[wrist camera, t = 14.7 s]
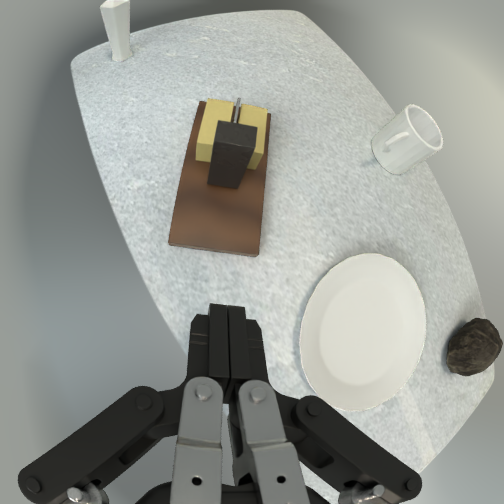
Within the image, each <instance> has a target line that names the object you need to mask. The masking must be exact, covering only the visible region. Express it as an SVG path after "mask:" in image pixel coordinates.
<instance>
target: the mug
mask: <svg viewBox="0 0 504 504" xmlns="http://www.w3.org/2000/svg"><path fill="white" fill-rule="evenodd" d="M371 144H372V150H373V153H374V156H375V157H376V159H377V161H378V162H379V163H380V164H381V166H382V167H383V168H384V169H386V170H387V171H388V172H390V173H393V174H395V175H401V174H403V173H405V172H407V171H408V170H410V169H411V168H413V167H415V166H416V165H418V164H419V163H421V162H422V161H424V160H425V159H427V158H428V157H430V156H431V155H433V154H435V153H436V152H438V151H439V150H441V149H442V147H443V137H442V134H441V131H440V130H439V127H438V125H437V124H436V122H435V121H434V120H433V118H432V117H431V116H430V115H429V114H428V113H427V112H426V111H425V110H424V109H422V108H420V107H418V106H416V105H413V104H411V105H407V106H406V107H405V108H404V109H403V110H402V111H401V112H400V113H399V114H397V115H396V116H395V117H394V118H393V119H392V120H391V121H390V122H389V123H388V124H387V125H385V126H384V127H383V128H382V129H381V130H380V131H379V132H378V133H377V134H376V135H375V136H374V137H373V139H372V143H371Z"/></svg>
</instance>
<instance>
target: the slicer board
mask: <svg viewBox="0 0 504 504" xmlns="http://www.w3.org/2000/svg"><path fill="white" fill-rule="evenodd" d="M206 104H207V102H204V101H200V102H199V105H198V109H197V112H196V116H195V120H194V123H193V127H192V131H191V135H190V139H189V143H188V147H187V151H186V155H185V159H184V164H183V168H182V172H181V177H180V182H179V186H178V191H177V196H176V201H175V206H174V212H173V217H172V222H171V228H170V234H169V240H168V243H169V245H171V246H179V247H186V248H193V249H200V250H208V251H215V252H222V253H230V254H237V255H244V256H252V257H256V256H258V255H259V245H260V235H261V224H262V212H263V201H264V190H265V179H266V167H267V155H268V144H269V132H270V120H271V114H270V113H267V121H266V132H265V142H264V153H263V155H262V157H261V159H260V161H259V163H258V165H257V167H256V169H255V170H254V169H248V168H247V169H246V171H245V173H244V176H243V178H242V181H241V183H240V185H239V188H238V189H236V188H230V187H223V186H217V185H210V184H207V180H208V173H209V166H210V162H206V161H199V160H196V147H197V139H198V135H199V131H200V127H201V123H202V119H203V115H204V111H205V107H206ZM235 107H236V106H233V112H232V117H231V122H232V119H233V115H234V111H235ZM240 108H241V107H239V110H238V115H239V111H240ZM237 118H238V116H237Z"/></svg>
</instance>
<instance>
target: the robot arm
mask: <svg viewBox="0 0 504 504" xmlns="http://www.w3.org/2000/svg"><path fill="white" fill-rule="evenodd" d="M262 340H263V339H262V332H261V328H260V327H259V325H258V323H257V322H256V320H252V319H246V314H245V307H240V306H231V305H221V304H212V303H210V305H209V311H208V315H201V314H196V316H195V317H194V319H193V320H192V322H191V329H190V340H189V352H188V365H187V376H186V379H185V381H184V382H183V383H182V384H181V385H180V386H179V387H177V388H174V389H171V390H165V391H159V392H157V391H156V390H154V389H153V388H151V387H147V386H138V387H135V388H133V389H131V390H130V391H128V392H127V393H126V394H125V395H123V396H122V397H121V398H119V399H118V400H117V401H116V402H114V403H113V404H112V405H110V406H109V407H108V408H106V409H105V410H104V411H102V412H101V413H100V414H98V415H97V416H96V417H95V418H93V419H92V420H91V421H89V422H88V423H87V424H85V425H84V426H83V427H81V428H80V429H78V430H77V431H76V432H74V433H73V434H72V435H70V436H69V437H68V438H66V439H65V440H63V441H62V442H61V443H59V444H58V445H57V446H55V447H53V448H52V449H51V450H49V451H48V452H47V453H45V454H44V455H42V456H41V457H39V458H38V459H36V460H35V461H34V462H32V463H31V464H29V465H28V466H26V467H25V468H23V469H22V470H21V471H20V473H19V475H18V484H19V487H20V490H21V492H22V493H23V494H24V496H25V497H26V498H27V499H28V500H30V501H31V502H33V503H35V504H109V498H108V496H107V494H106V493H105V491H104V490H103V488H105V487H106V486H107V485H108V484H110V483H111V482H112V481H113V480H115V479H116V478H117V477H118V476H120V475H121V474H122V473H123V472H124V471H126V470H127V469H128V468H129V467H130V466H131V465H133V464H134V463H135V462H136V461H138V459H140V458H141V457H142V456H143V455H144V454H145V453H147V452H148V451H149V450H150V449H151V448H152V447H153V446H155V445H156V444H157V443H158V442H159V441H160V440H161V439H162V438H164V437H169V436H174V435H178V437H177V442H176V448H175V456H174V465H173V475H172V481H171V482H167V483H163V484H160V485H158V486H156V487H154V488H152V489H151V490H149V491H148V492H147V493H146V494H145V495H144V496H143V497H142V498H141V499H139V500H138V501H137V502H136V503H135V504H330V503H329V502H328V501H327V500H325V499H324V498H323V497H322V496H320V495H319V494H318V493H317V492H316V491H314V490H313V489H311V488H310V487H308V486H306V485H305V482H304V478H303V475H302V471H301V467H300V463H299V461H301V462H302V463H303V464H304V465H305V466H306V467H308V468H309V469H310V470H311V471H313V472H314V473H315V474H316V475H317V476H319V477H320V478H321V479H323V480H324V481H325V482H326V483H328V484H329V485H330V486H332V487H333V488H334V489H336V490H337V491H338V492H340V495H339V499H338V503H339V504H399V503H401V502H405V501H408V500H411V499H413V498H415V497H416V496H417V495H418V494H419V493H420V491H421V488H422V480H421V477H420V475H419V474H418V473H417V472H415V471H414V470H412V469H411V468H410V467H408V466H407V465H405V464H404V463H403V462H401V461H400V460H398V459H397V458H396V457H394V456H393V455H392V454H390V453H389V452H388V451H386V450H385V449H384V448H382V447H381V446H380V445H378V444H377V443H376V442H374V441H373V440H372V439H371V438H369V437H368V436H367V435H365V434H364V433H363V432H362V431H360V430H359V429H358V428H357V427H355V426H354V425H353V424H352V423H350V422H349V421H348V420H347V419H346V418H344V417H343V416H342V415H341V414H339V413H338V412H337V411H336V410H335V409H334V408H332V407H331V406H330V405H329V404H328V403H326V402H325V401H324V400H323V399H321V398H320V397H317V396H312V395H310V396H305V397H303V398H301V399H300V400H299V399H296V398H292V397H288V396H285V395H282V394H280V393H278V392H277V391H276V390H274V389H273V387H272V386H271V385H270V383H269V380H268V374H267V367H266V360H265V353H264V346H263V341H262ZM223 404H229V415H228V419H227V420H228V428H229V435H230V442H231V448H232V455H233V465H232V468H233V477H234V483H235V486H230V485H225V484H221V482H222V446H221V427H222V407H223Z"/></svg>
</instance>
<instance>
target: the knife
mask: <svg viewBox="0 0 504 504" xmlns="http://www.w3.org/2000/svg"><path fill="white" fill-rule="evenodd" d="M240 99H241V98H238V100H237V104H236V107H235V111H234V115H233V119H232V122H228V121H221V120H218V122H217V127H216V132H215V137H214V142H213V148H212V154H211V160H210V166H209V173H208V180H207V184H210V185H217V186H223V187H230V188H236V189H238V188H239V185H240V183H241V181H242V178H243V176H244V173H245V171H246V169H247V166H248V164H249V162H250V159H251V157H252V155H253V152H254V150H255V147H256V138H257V130H258V127H255V126H250V125H244V124H239V123H236V122H237V116H238V110H239V104H240Z"/></svg>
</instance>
